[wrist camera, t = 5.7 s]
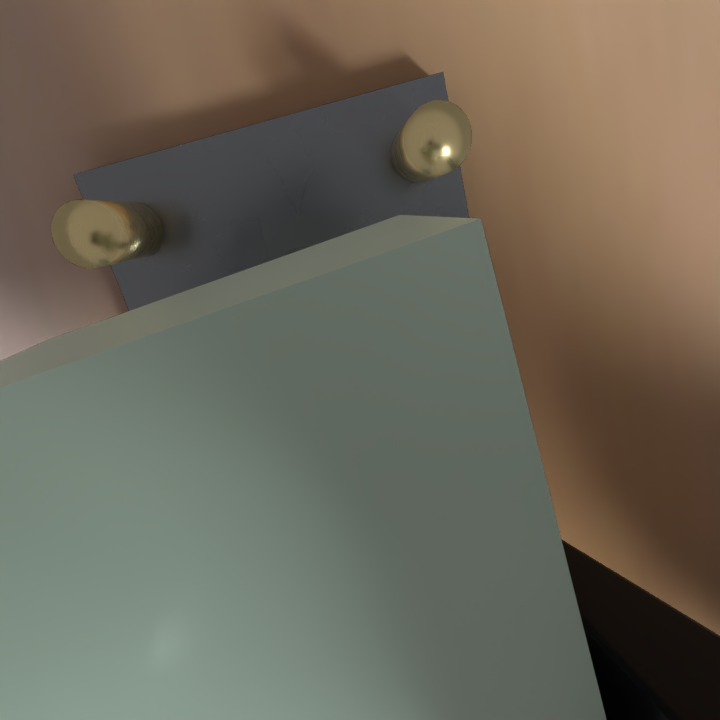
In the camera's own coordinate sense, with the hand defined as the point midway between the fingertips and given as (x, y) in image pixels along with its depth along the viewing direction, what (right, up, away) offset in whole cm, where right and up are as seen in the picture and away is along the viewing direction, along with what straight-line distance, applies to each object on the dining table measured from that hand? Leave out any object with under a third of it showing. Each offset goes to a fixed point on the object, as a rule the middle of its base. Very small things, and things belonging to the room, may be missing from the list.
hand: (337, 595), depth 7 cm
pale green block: (0, 0, +1) cm, 1 cm away
